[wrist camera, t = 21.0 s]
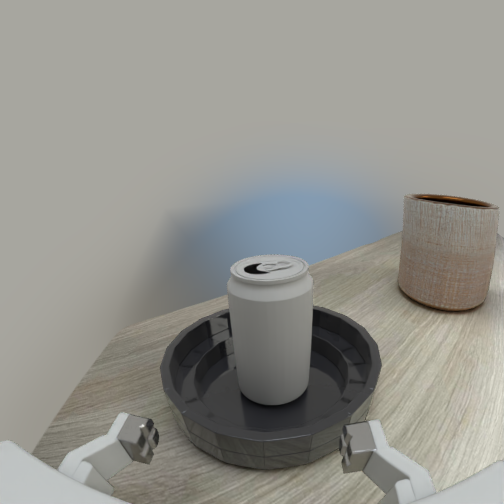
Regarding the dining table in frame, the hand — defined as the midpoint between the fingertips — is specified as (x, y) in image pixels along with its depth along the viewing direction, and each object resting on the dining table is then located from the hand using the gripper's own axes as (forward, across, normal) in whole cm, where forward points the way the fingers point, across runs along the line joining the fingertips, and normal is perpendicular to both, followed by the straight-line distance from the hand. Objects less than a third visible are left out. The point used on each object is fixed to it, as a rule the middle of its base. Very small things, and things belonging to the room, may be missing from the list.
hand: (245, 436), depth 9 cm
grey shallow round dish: (+12, -1, +9) cm, 15 cm away
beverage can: (+12, -1, +9) cm, 15 cm away
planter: (+30, -31, +9) cm, 44 cm away
